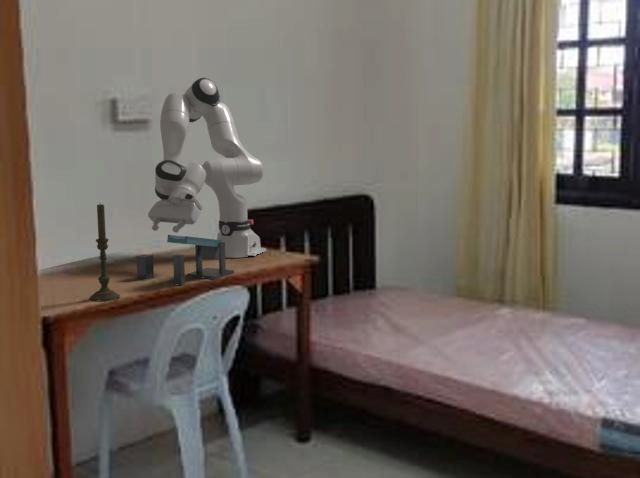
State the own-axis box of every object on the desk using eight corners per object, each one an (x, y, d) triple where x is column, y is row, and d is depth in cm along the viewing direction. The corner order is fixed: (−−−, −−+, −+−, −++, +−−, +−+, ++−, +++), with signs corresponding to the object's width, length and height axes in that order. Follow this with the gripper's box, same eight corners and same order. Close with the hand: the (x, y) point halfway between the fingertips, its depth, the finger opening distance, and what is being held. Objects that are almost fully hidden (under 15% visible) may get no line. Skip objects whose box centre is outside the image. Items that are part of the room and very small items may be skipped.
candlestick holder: (114, 293, 260) (110, 200, 255) (124, 298, 252) (119, 202, 247) (86, 297, 255) (81, 202, 250) (95, 302, 247) (90, 204, 243)
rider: (144, 276, 285) (143, 254, 284) (153, 277, 283) (152, 255, 282) (137, 278, 282) (136, 256, 281) (146, 279, 280) (145, 257, 279)
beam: (205, 257, 292) (207, 239, 292) (225, 259, 288) (227, 240, 288) (165, 254, 271) (167, 234, 271) (186, 256, 267) (188, 236, 267)
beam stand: (207, 270, 296) (206, 237, 294) (234, 273, 290) (233, 240, 289) (163, 283, 274) (162, 248, 272) (191, 286, 269) (190, 251, 267)
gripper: (154, 193, 301) (137, 223, 294) (198, 196, 291) (182, 227, 284) (163, 204, 306) (146, 233, 299) (206, 207, 296) (190, 237, 289)
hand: (164, 230), depth 292 cm, fingers open, 8 cm apart
